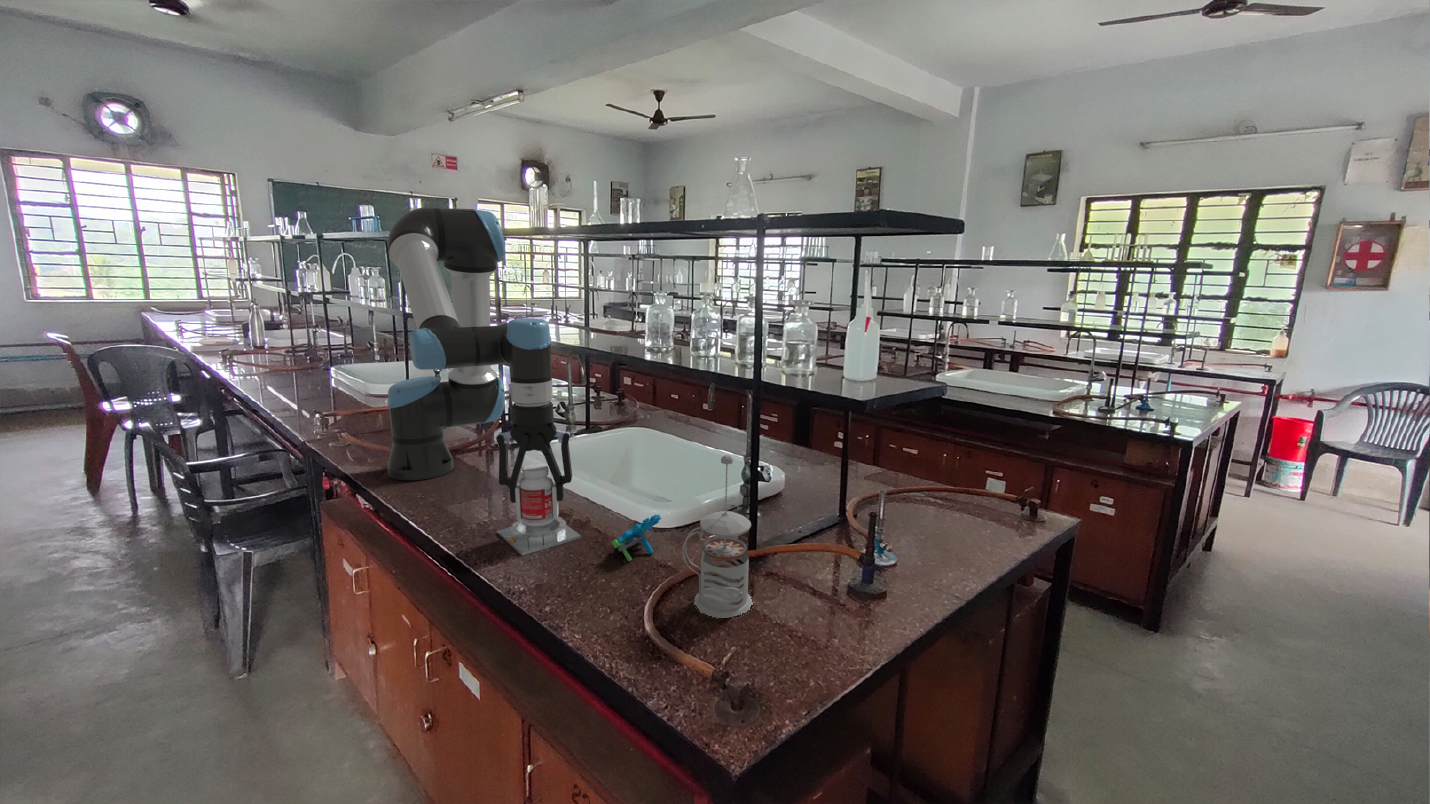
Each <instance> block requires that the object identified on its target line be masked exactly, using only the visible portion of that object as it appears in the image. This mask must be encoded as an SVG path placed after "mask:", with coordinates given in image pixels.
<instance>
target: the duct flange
mask: <svg viewBox="0 0 1430 804" xmlns="http://www.w3.org/2000/svg"><path fill="white" fill-rule="evenodd" d="M497 534H498V535H499V536H500V537H502V539H504V540H505V541H506V542H507V543H508V545H510V546H511V547H512V548H513V549H514V551H516V552H517V553H518V554H519V555H521V557H522V556H526V555H529V554H532V553H537V552H540V551H542V550H546V549H549V548H553V547H557V546H561V545H563V544H566V543H570V542H574V541H576V540H580V539H582V535H581V534H580V533H578V532H577V531H575V530H574V529H573V528H572V527H570V526H569V525H567V521H566V520H565V519H563V517H561V516H558V518H557V519H553V521H552V522H551V523H549V524H547V525H544V526H536V527H535V526H527V525H525V524H524V523H523V522H522V519H521V520H516V521H515V522H514V523H512V525H511V526H509V527H505V528H501V529H498V530H497Z"/></svg>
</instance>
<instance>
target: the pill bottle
mask: <svg viewBox="0 0 1430 804" xmlns="http://www.w3.org/2000/svg"><path fill="white" fill-rule="evenodd" d="M522 475H523V477H524V478H522V479H521V480H520V483H519V484H520V496H521V514H522V522H523V523H524V524H525V525H527V526H535V527H536V526H544V525H547V524H549V523H551V522H552V521H553V500H552V486H553V482H554V480H553V478H552V477H551V476H549V466H548V465H546V464H541V463H536V464H534V463H533V464H528V465H526V466H524V467H523V469H522Z"/></svg>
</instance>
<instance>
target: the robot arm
mask: <svg viewBox="0 0 1430 804" xmlns="http://www.w3.org/2000/svg"><path fill="white" fill-rule="evenodd" d="M503 233H504V232H503V229H502V226H501V224H500V222H499V220H498V218H497V217H496V215H495V214H494V213H493V212H491V211H488V210H483V209H482V210H481V209H480V210H479V209H475V208H450V207H447V208H446V207H445V208H441V207H429V206H427V207H419V208H418V207H417V208H415V209H412V210H410V211H408V212H406V213H405V214H404V215H402V216H401V217H399V218H398V220H397V221H395V223H394V225H393V226H392V227H391V229H390V232H389V234H388V237H387V250H388V256H389V258H390V260H391V262H392V264H393V265H394V266H395V267H397V269H398V271H399V273H400V277H401V281H402V284H403V287H404V289H405V294H406V297H407V301H408V303H409V308H410V311H411V314H412V317H413V320H414V323H415V327H416V329H413V330H411V331H410V333H409V352H410V355H411V361H412V364H413V366H414V367H415V368H416V369H417V370H421V371H423V370H435V371H436V370H439V371H441V370H446V369H449V370H450V369H451V370H450V371H449V372H448V374H447V375H448V376H447V377H448V380H447V381H440V379H439V378H438V377H437V376H434V375H433V376H431V375H429V376H418V377H413V378H409V379H405V380H401V381H398V382H395V383H394V384H392V385H391V386H390V387H389V389H388V390H387V401H388V402H387V407H388V408H389V409H388V410H389V419H390V430H391V441H392V446H391V450H390V454H389V458H388V461H387V465H386V467H387V469H386V471H387V476H388V477H389V478H390V479H393V480H398V481H422V480H428V479H433V478H437V477H440V476H444V475H446V474H448V473H450V472H451V471H452V470H453V469H454V468H455V467H454V459H453V455H452V454H451V452H450V450H449V447H448V445H447V442H446V441H445V439H444V438H445V437H444V429H446V428H452V427H453V428H454V427H461V426H462V427H463V426H469V425H470V426H471V425H478V424H480V425H483V424H485V423H490V422H496V421H498V419H500V418H501V416H502V415H503V412H504V408H505V402H506V393H505V385H504V382H503V380H502V378H501V377H499V376H498V375H497V371H495V370H494V369H493V368H492V366H497V365H498V366H499V365H508V367H509V386H510V388H509V389H510V401H511V402H512V405H511V418H512V419H511V421H512V426H511V429H510V430H509V431H506V432H503V431H501V432H499V433H498V434H497V435H496V437H495V440H496V443H497V445H498V453H499V454H498V484H499V485H500V486H506V487H508V489H509V501H510V503H511V504H514V503H515V509H516V510H515V511H516V521H519V520H521V519H522V514H521V496H520V483H518V481H519V480H518V479H519V477H520V473H521V470H522V467H523V463H524V459H525V458H526V452H531V451H538V452H541V453H542V455H543V457H544V459H545V461H546V464H547V466H548V470H549V471H550V473H551V476H552V480H553V486H552V500H553V519H557V518H558V517H559V513H560V509H559V502H562V501H563V500H564V486H565V484H570V483H571V482H572V480H573V471H572V470H573V469H572V462H571V461H572V460H571V453H570V452H571V451H570V444H569V443H570V438H571V431H570V430H566V431H563V430H559V429H558V428H557V427H556V425H555V421H554V420H555V417H554V416H555V415H554V403H553V402H552V400H553V399H554V398H553V395H554V394H553V377H552V376H553V375H552V352H551V351H552V350H551V346H552V337H551V332H550V324H549V322H548V321H547V320H544V319H541V318H516V319H511V320H509V321H508V322H505V323H500V324H498V325H491V276H492V275H493V274H495V272H496V271H497V263H500V262H503V261H504V259H505V255H506V245H505V240H504V239H505V238H504V234H503ZM438 262H443V268H444V269H445V271H447V272H448V273H449V274H450V275H451V296H450V295H449V291H448V289H447V286H446V282H445V280H444V278H443V275H442V271H441V268H440V266H439V264H438ZM451 299H452V300H451ZM555 437H556V438H557V441H558V443H560V450H561V456H562V466H563V467H562V468H563V474H562V472H561V470H560V467H559V465H558V463H557V460H556V457H555V455H554V452H553V449H552V446H551V442H552V441H553V440H554V438H555ZM511 438H512V439H513V440H514V441H515V443H517V445H518V446H519V447H518V452H517V455H516V458H515V462H514V465H513V469H512V472H511V475H510V477H509V476H508V473H509V471H508V469H509V466H508V465H509V444H510V442H511Z"/></svg>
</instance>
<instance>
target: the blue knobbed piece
mask: <svg viewBox="0 0 1430 804" xmlns="http://www.w3.org/2000/svg"><path fill="white" fill-rule="evenodd" d="M660 520H662V517H661V515H660V514H654V515H652V516H651V517H647V518H645V519H643V520H642V523H640V524H639V523H636V524H635V525H633V526H632V527H631V529H629V530H627V531H624V532H623V533H622V534H621V536H620V537H617V538H615V539H612V541H611V544H612V546H613V547H614V548H615V549H618V552H619V553H621V552H622V553H623V554H624V556H625V558H626V560H627V562H631V561H632V560H633V559H632V556H631V555H630V553H629V552H628V551H627V549H629V548H631V547H632V546H635V545H636V544H638V543H639V542H641V544H642V545H643V547H644V548H645V550H646V552H647V554H648V555H652V554H653V553H654V550H653V548H652V546H651V545H650V544H649V542H648V540H647V535H646V533H645V532H648V531H650V530H651V529H653V528H654V526H655V525H657V524H659V522H660ZM635 538H636V539H635Z"/></svg>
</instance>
